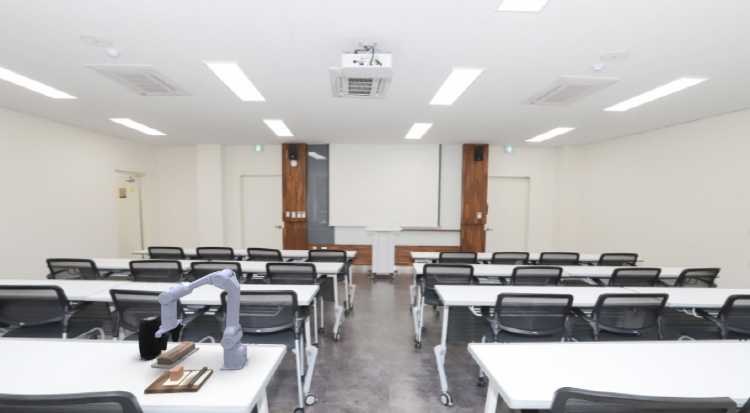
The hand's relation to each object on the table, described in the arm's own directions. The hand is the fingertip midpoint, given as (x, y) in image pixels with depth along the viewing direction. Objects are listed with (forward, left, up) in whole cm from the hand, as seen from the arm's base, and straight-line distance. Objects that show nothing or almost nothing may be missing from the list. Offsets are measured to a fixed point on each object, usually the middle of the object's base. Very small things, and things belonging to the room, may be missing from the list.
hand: (169, 345), depth 131 cm
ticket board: (-12, +12, -10) cm, 19 cm away
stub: (-10, +12, -8) cm, 18 cm away
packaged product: (+2, -8, -11) cm, 14 cm away
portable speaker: (+15, -10, -10) cm, 21 cm away
